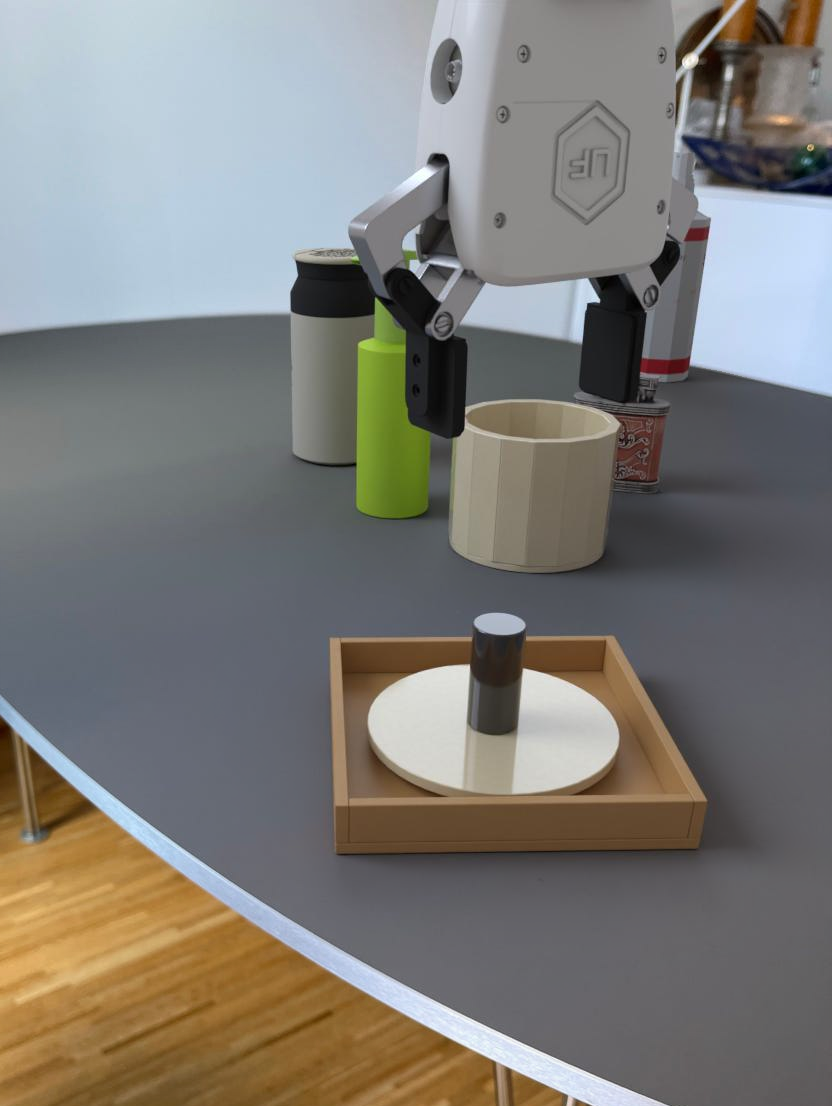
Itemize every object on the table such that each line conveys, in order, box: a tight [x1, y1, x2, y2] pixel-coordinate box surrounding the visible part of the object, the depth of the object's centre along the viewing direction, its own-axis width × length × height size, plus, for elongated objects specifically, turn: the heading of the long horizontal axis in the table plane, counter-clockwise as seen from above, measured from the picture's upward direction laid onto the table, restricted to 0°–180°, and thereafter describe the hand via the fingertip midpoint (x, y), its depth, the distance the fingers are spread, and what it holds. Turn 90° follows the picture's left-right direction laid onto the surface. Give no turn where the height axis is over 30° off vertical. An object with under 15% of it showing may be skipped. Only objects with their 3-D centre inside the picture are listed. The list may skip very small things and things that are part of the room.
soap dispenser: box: [350, 248, 432, 519], centre depth 83 cm, size 6×7×20 cm
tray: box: [329, 635, 709, 855], centre depth 54 cm, size 16×16×3 cm
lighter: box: [572, 374, 671, 494], centre depth 91 cm, size 8×3×10 cm, turn 65°
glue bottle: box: [640, 151, 712, 383], centre depth 126 cm, size 8×8×25 cm
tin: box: [447, 398, 621, 574], centre depth 78 cm, size 12×12×10 cm
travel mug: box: [289, 247, 375, 466], centre depth 97 cm, size 8×8×18 cm
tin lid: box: [367, 612, 620, 797], centre depth 53 cm, size 13×13×7 cm
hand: (525, 412), depth 47 cm, fingers open, 9 cm apart
